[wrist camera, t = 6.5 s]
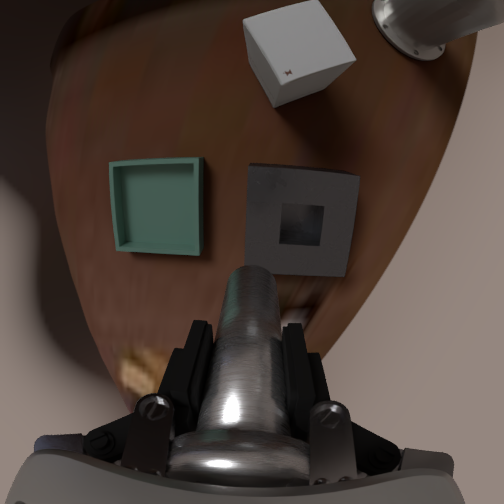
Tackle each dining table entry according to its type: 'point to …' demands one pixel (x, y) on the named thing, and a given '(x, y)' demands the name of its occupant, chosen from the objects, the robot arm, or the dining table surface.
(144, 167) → the tray
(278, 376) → the pin
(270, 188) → the socket block
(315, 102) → the dining table surface
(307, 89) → the supplement box
